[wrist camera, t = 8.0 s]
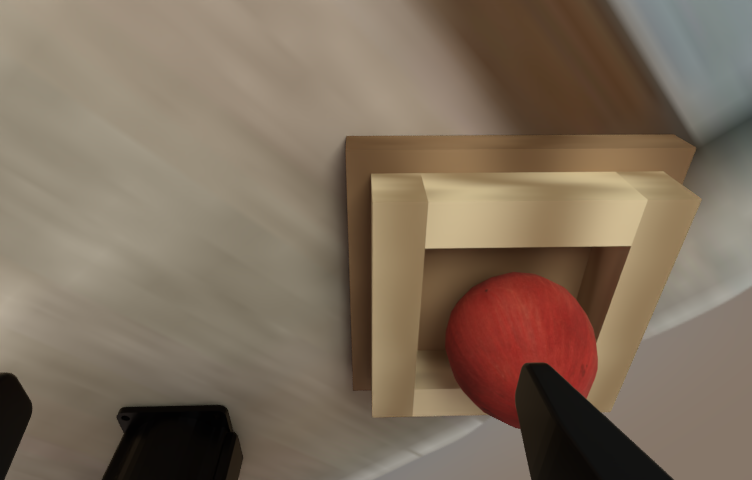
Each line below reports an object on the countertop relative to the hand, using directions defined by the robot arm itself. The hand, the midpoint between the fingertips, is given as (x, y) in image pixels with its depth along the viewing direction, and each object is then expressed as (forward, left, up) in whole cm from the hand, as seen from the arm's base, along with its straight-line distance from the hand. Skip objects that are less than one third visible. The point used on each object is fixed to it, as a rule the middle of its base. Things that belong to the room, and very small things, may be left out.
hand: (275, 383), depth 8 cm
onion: (+8, -7, -12) cm, 16 cm away
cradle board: (+8, -7, -13) cm, 17 cm away
